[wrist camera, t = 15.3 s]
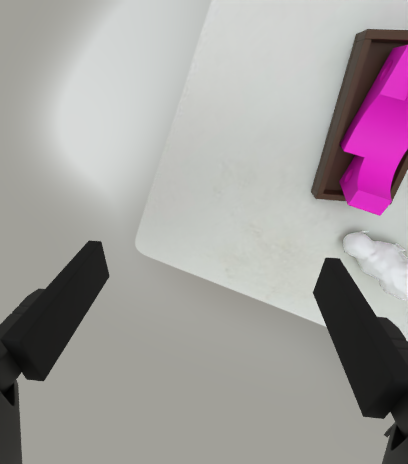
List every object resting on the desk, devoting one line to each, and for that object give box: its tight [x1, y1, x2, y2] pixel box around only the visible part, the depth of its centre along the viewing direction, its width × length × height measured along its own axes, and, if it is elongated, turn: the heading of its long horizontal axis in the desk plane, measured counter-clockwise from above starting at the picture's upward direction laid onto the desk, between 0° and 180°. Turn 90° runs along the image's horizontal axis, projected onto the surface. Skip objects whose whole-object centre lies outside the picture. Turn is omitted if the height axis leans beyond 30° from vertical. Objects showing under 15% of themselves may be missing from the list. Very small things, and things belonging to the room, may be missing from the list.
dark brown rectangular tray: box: [311, 29, 408, 204], centre depth 30 cm, size 19×10×3 cm, turn 178°
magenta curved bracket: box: [339, 45, 408, 215], centre depth 27 cm, size 15×6×8 cm, turn 167°
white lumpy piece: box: [343, 231, 408, 300], centre depth 37 cm, size 6×8×12 cm
